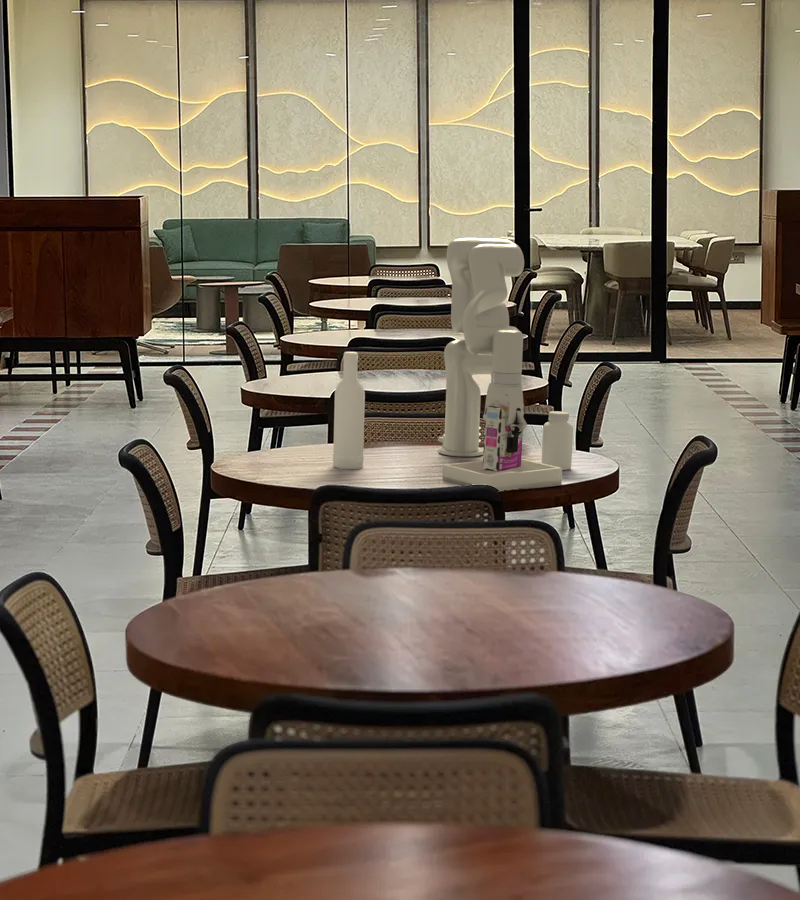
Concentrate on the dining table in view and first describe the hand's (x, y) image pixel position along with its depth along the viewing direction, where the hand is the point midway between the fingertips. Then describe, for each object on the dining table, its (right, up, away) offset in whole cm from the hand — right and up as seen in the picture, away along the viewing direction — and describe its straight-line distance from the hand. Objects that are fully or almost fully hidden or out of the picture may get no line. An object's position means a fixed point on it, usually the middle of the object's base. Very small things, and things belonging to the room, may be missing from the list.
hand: (503, 449), depth 395 cm
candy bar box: (0, -5, +1) cm, 5 cm away
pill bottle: (+16, -5, +23) cm, 28 cm away
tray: (0, -8, +1) cm, 8 cm away
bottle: (-40, -5, +16) cm, 43 cm away
